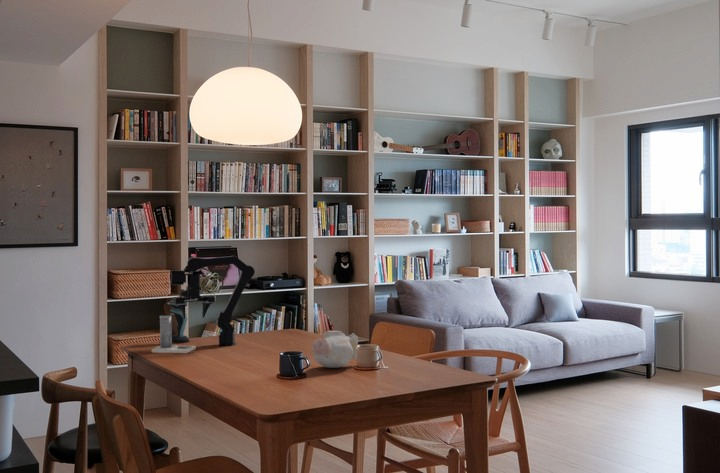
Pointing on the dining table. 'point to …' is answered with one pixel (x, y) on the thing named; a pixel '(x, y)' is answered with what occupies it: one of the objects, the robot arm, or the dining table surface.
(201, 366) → the dining table surface
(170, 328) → the metal tumbler
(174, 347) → the dial scale
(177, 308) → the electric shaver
